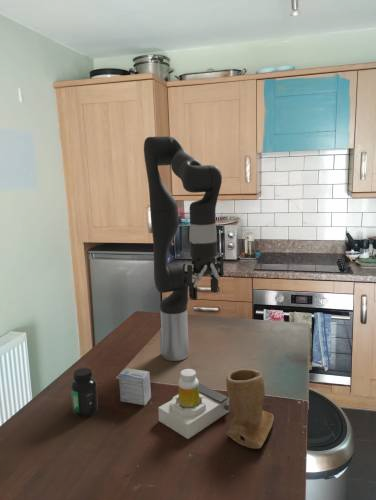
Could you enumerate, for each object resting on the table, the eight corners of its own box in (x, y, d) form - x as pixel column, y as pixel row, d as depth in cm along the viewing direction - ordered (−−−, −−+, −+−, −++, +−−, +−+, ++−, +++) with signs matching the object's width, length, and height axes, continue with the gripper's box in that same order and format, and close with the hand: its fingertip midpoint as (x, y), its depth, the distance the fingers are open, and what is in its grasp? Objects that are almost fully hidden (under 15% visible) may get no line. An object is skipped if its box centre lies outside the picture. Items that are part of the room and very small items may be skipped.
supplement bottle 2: (197, 412, 110) (196, 378, 108) (177, 410, 111) (175, 376, 109) (200, 400, 115) (200, 368, 113) (181, 399, 116) (180, 366, 114)
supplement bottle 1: (76, 421, 114) (72, 380, 112) (70, 408, 120) (67, 369, 118) (101, 413, 117) (98, 373, 115) (94, 401, 123) (91, 363, 121)
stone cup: (235, 408, 118) (235, 359, 115) (278, 419, 113) (279, 367, 109) (214, 441, 105) (213, 386, 102) (260, 455, 100) (261, 397, 96)
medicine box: (151, 398, 124) (150, 371, 122) (145, 406, 120) (143, 378, 118) (127, 393, 127) (125, 367, 125) (120, 402, 123) (118, 374, 121)
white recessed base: (191, 441, 105) (190, 421, 104) (159, 420, 113) (158, 402, 112) (232, 413, 116) (232, 395, 115) (200, 396, 124) (199, 379, 123)
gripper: (210, 234, 124) (211, 287, 128) (174, 241, 114) (176, 299, 118) (230, 237, 119) (230, 292, 123) (194, 245, 109) (196, 305, 113)
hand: (204, 295), depth 120 cm, fingers open, 8 cm apart
